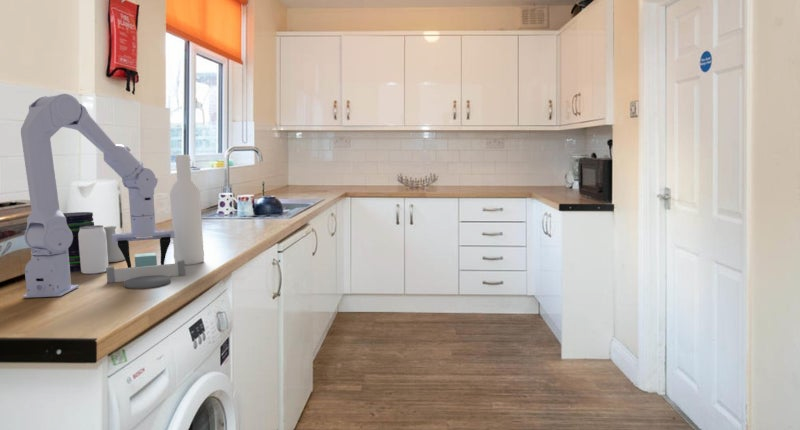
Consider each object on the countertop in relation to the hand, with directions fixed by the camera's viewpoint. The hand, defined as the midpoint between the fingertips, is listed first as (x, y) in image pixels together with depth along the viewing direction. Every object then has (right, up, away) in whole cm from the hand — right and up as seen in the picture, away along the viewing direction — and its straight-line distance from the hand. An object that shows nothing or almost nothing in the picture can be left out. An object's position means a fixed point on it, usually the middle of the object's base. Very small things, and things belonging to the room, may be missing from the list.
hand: (146, 268), depth 154 cm
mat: (+6, -3, -13) cm, 14 cm away
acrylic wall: (+3, -2, -6) cm, 7 cm away
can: (-15, -2, +4) cm, 16 cm away
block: (0, -2, 0) cm, 2 cm away
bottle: (+6, 0, +15) cm, 16 cm away
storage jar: (-23, -1, +10) cm, 25 cm away
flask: (-18, 0, +21) cm, 28 cm away
